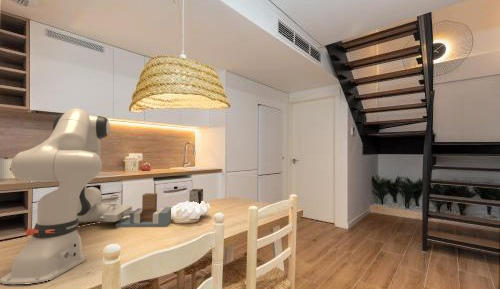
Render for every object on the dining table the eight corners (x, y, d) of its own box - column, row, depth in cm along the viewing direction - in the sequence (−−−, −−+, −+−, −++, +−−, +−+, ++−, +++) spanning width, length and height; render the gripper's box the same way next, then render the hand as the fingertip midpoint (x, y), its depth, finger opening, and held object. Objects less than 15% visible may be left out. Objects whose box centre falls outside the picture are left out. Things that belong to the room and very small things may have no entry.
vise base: (166, 226, 127) (166, 213, 127) (115, 227, 125) (116, 213, 125) (172, 219, 140) (172, 207, 140) (126, 219, 138) (127, 207, 138)
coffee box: (199, 219, 140) (200, 191, 141) (188, 219, 141) (189, 191, 141) (203, 215, 150) (203, 188, 150) (192, 215, 150) (193, 188, 150)
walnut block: (153, 221, 130) (154, 195, 130) (141, 221, 130) (142, 195, 130) (156, 219, 135) (157, 193, 135) (145, 219, 135) (145, 193, 135)
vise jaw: (139, 223, 127) (140, 213, 127) (129, 223, 126) (129, 213, 127) (147, 217, 138) (147, 208, 138) (137, 217, 137) (138, 208, 138)
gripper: (96, 212, 121) (125, 212, 122) (116, 203, 141) (141, 203, 142) (96, 225, 121) (125, 224, 122) (115, 214, 141) (140, 214, 142)
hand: (134, 213), depth 132 cm, fingers closed, pressing on vise jaw
